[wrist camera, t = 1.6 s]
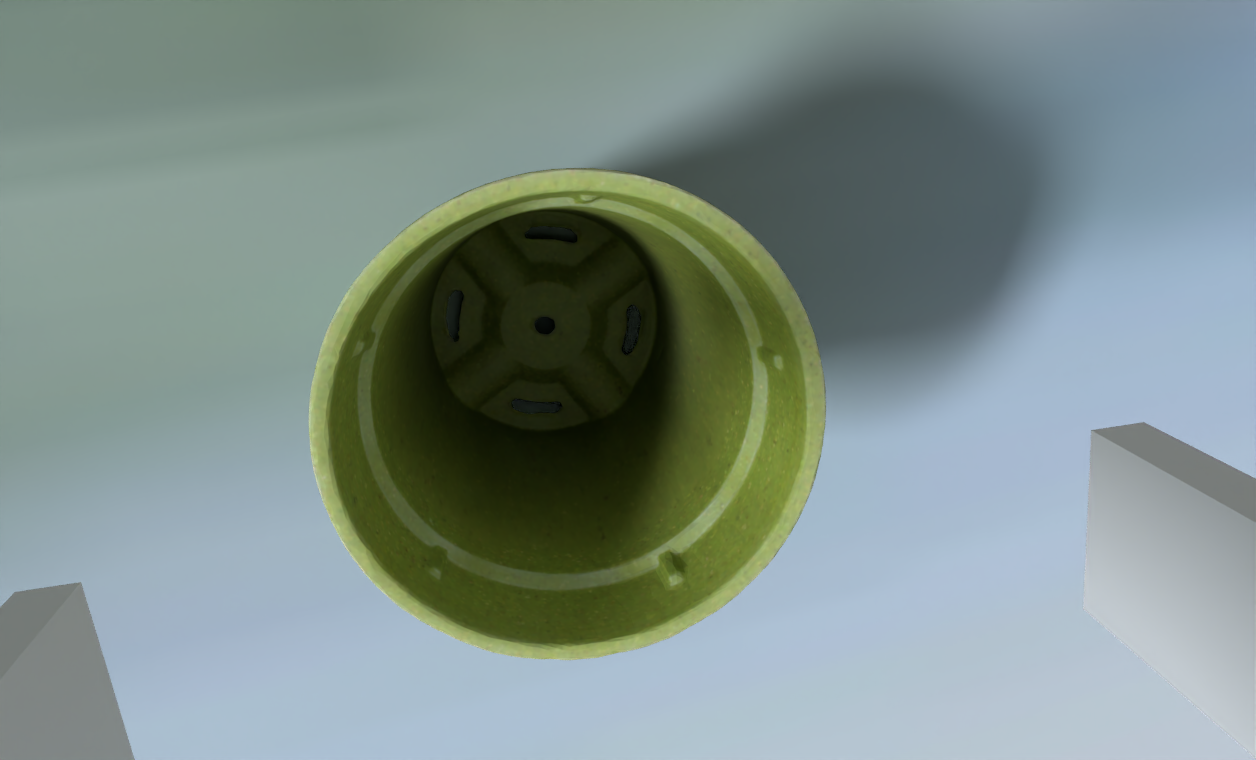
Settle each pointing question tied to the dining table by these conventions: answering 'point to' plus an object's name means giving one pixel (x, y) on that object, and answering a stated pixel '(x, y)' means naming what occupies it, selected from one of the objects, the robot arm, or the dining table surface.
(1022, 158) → the dining table surface
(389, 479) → the plant pot
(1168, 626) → the robot arm
